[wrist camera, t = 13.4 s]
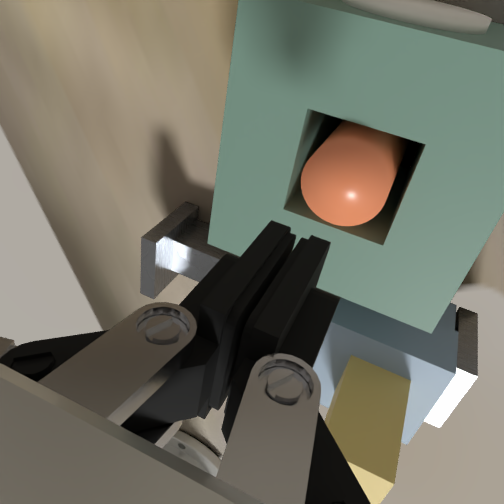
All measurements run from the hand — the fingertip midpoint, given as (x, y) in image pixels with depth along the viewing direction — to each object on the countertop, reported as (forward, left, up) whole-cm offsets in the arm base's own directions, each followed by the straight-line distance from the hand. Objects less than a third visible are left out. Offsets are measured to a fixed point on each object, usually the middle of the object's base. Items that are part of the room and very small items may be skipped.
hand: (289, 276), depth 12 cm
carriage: (-10, -4, -13) cm, 17 cm away
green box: (+1, 0, -13) cm, 13 cm away
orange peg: (+1, 0, -12) cm, 12 cm away
